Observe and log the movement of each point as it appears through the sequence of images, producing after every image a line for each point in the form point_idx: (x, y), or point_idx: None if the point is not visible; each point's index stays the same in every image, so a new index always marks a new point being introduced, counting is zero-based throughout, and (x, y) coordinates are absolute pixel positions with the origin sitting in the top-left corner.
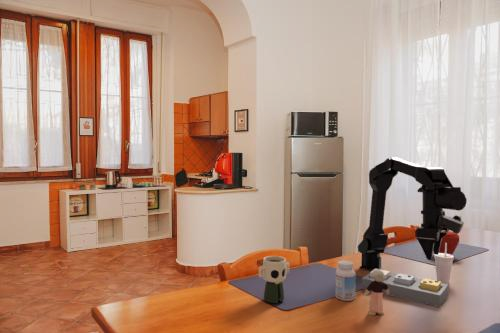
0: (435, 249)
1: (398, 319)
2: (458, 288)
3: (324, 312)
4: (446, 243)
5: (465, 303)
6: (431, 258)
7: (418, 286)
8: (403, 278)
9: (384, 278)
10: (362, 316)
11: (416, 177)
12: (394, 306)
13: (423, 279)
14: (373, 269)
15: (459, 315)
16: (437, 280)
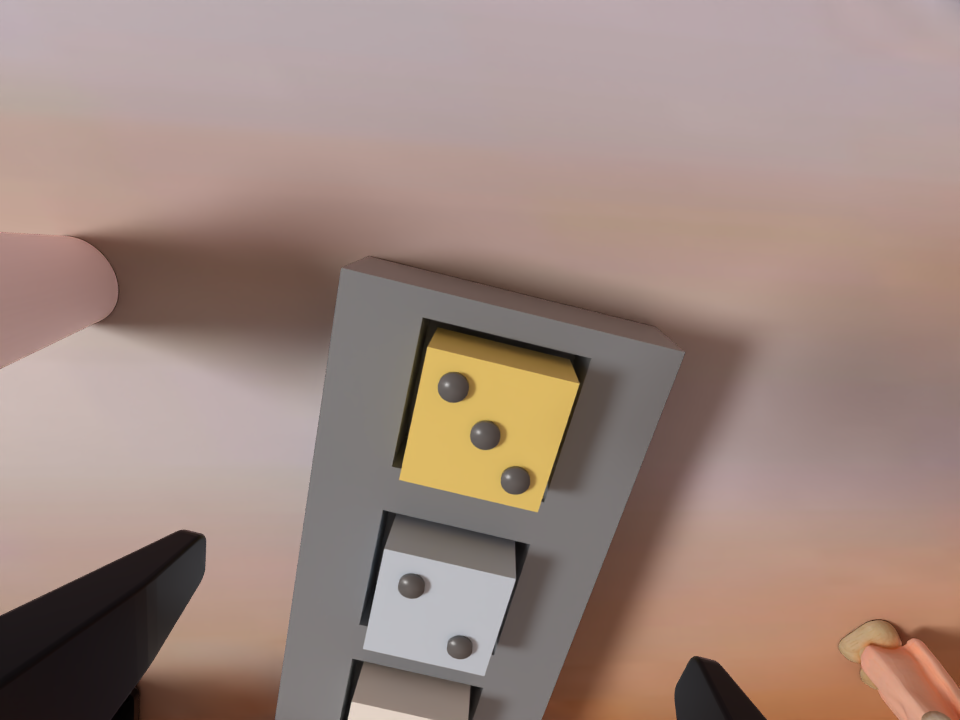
0: (144, 637)
1: (944, 552)
2: (151, 164)
3: None
4: None
5: (501, 134)
6: (729, 680)
7: None
8: (488, 621)
9: (467, 703)
10: None
11: None
12: (740, 574)
13: (438, 487)
14: (129, 705)
15: (782, 199)
16: (89, 325)
